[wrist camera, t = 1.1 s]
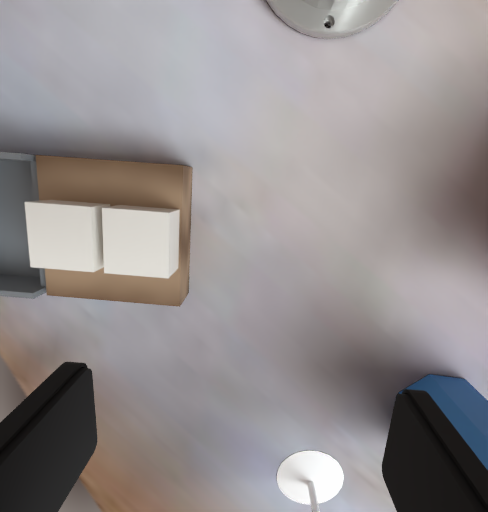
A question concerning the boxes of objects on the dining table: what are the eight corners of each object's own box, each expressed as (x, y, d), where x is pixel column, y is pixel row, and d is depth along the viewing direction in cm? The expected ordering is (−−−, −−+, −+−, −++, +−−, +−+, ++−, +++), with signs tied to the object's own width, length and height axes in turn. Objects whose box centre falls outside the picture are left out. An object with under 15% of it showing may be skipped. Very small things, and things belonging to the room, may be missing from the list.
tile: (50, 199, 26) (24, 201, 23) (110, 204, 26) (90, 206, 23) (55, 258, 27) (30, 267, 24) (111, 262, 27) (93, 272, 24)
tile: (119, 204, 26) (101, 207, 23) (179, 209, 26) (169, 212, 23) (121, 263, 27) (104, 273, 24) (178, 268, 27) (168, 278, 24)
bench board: (62, 158, 28) (35, 154, 25) (192, 167, 28) (183, 165, 25) (69, 283, 31) (46, 295, 28) (188, 292, 31) (179, 306, 27)
